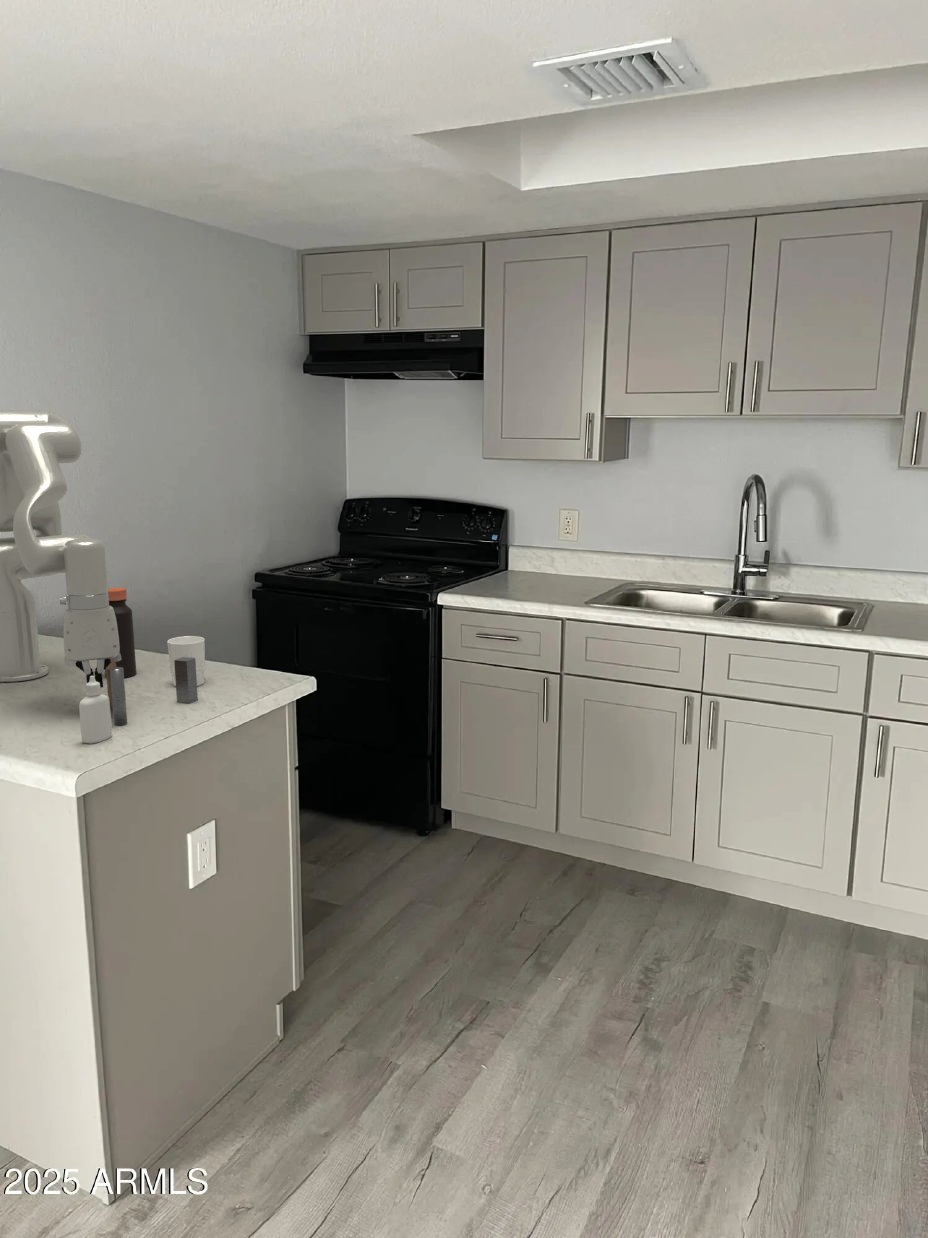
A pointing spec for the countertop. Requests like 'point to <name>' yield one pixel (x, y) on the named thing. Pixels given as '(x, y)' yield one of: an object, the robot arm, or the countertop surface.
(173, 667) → the white cup
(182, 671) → the post
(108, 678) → the brown wooden board
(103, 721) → the eye dropper bottle
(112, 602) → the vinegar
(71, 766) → the countertop surface
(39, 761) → the countertop surface
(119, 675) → the grey glass test tube
